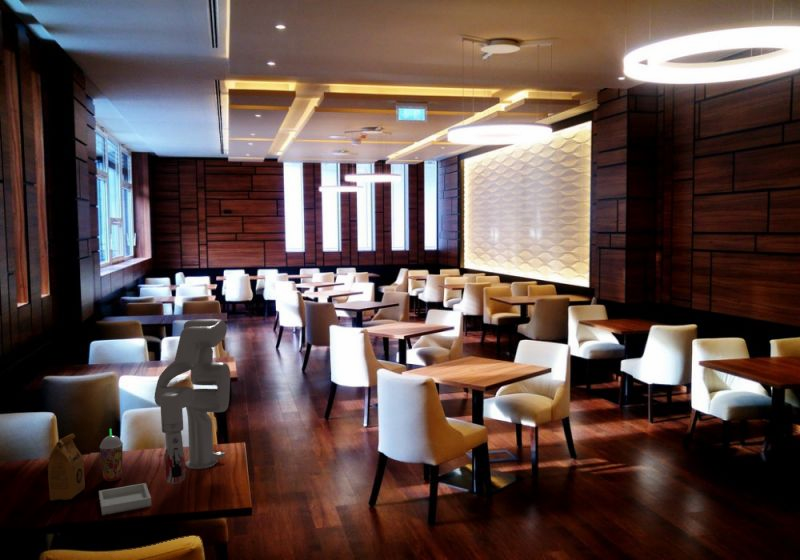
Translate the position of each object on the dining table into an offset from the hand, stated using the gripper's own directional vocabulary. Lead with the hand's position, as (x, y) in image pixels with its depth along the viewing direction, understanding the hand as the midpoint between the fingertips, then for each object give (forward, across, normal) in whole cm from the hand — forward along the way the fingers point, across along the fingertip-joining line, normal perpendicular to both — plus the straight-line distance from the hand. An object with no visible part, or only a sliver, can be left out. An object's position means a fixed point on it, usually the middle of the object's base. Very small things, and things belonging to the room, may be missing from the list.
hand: (175, 472), depth 253 cm
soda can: (+3, 0, 0) cm, 3 cm away
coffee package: (+8, +17, +36) cm, 40 cm away
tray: (+8, 0, +18) cm, 19 cm away
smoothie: (+9, +27, +20) cm, 34 cm away
